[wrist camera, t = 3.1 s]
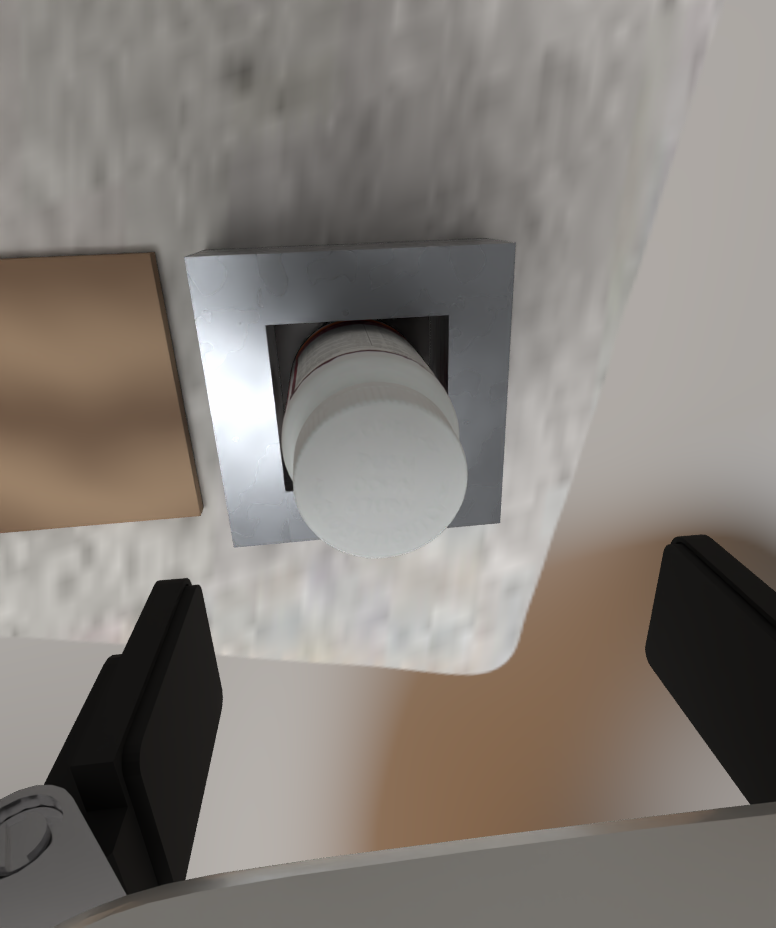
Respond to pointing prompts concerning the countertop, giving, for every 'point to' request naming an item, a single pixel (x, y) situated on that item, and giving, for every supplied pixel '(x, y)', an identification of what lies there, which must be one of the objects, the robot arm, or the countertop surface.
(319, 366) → the pill bottle
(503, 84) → the countertop surface
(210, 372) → the metal collar
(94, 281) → the brown pad
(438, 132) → the countertop surface
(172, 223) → the countertop surface
